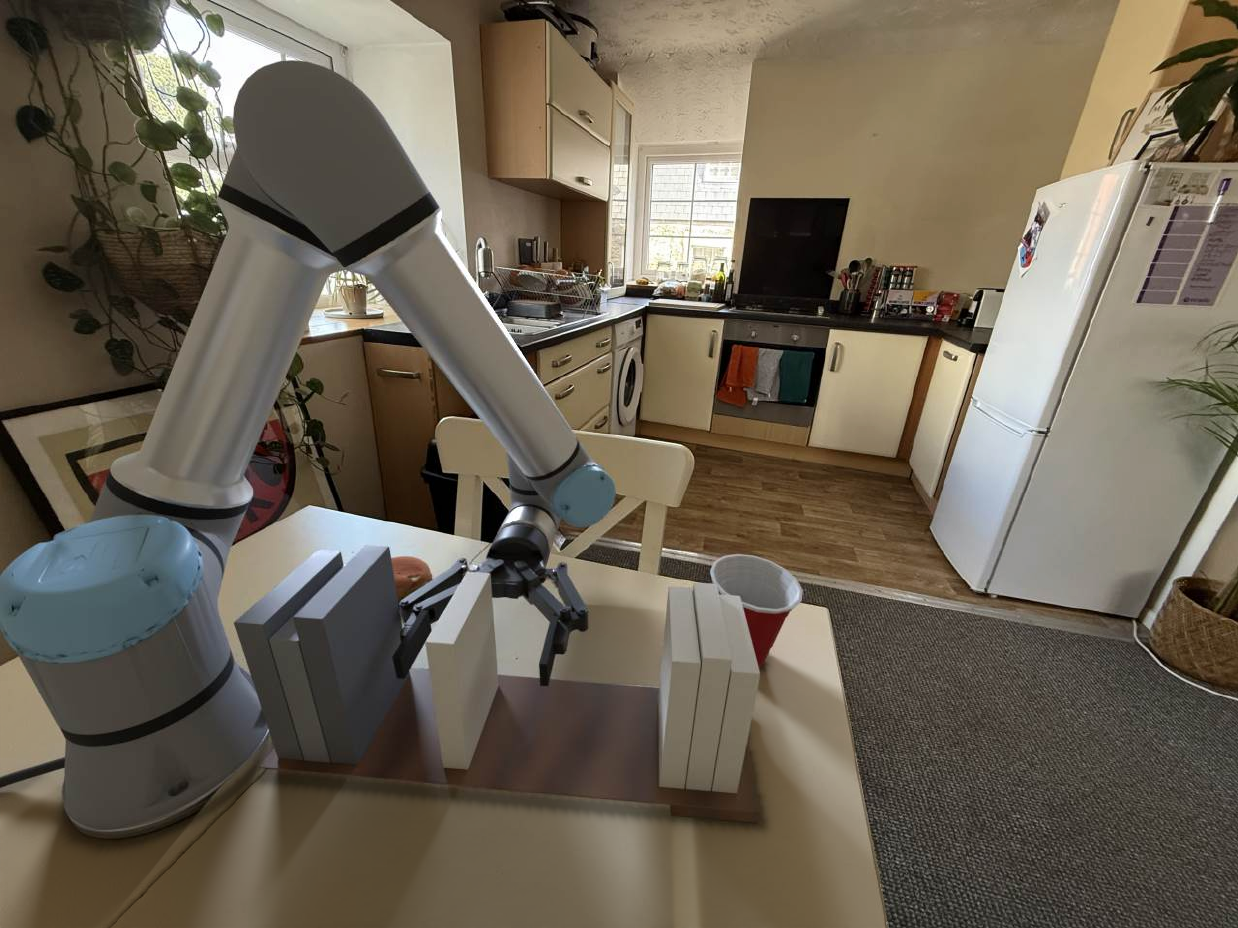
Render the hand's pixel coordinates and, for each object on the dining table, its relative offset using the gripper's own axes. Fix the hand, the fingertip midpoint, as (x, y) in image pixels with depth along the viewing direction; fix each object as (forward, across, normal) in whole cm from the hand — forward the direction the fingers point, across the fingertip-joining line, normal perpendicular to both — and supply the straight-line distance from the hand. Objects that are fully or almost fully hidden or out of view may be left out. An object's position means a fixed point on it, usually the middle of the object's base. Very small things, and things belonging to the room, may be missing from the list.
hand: (470, 672), depth 46 cm
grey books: (-1, +14, -8) cm, 16 cm away
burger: (-22, +19, -10) cm, 31 cm away
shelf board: (-1, -4, -10) cm, 11 cm away
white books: (-1, -22, -9) cm, 23 cm away
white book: (-1, +1, -8) cm, 8 cm away
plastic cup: (-15, -29, -11) cm, 35 cm away
